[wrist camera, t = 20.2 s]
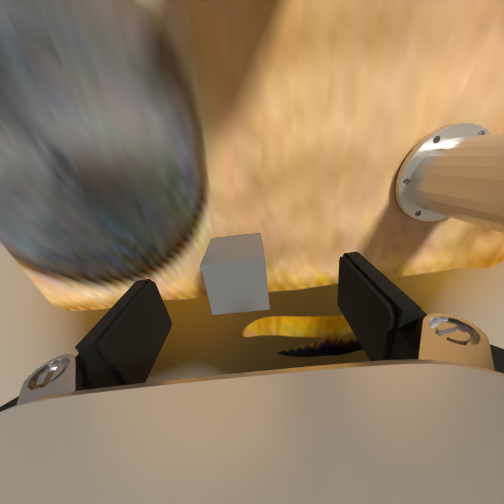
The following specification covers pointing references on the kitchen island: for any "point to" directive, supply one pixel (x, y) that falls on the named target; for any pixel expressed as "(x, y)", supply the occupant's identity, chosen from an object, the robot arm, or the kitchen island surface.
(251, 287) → the gray cube
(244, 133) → the kitchen island surface
